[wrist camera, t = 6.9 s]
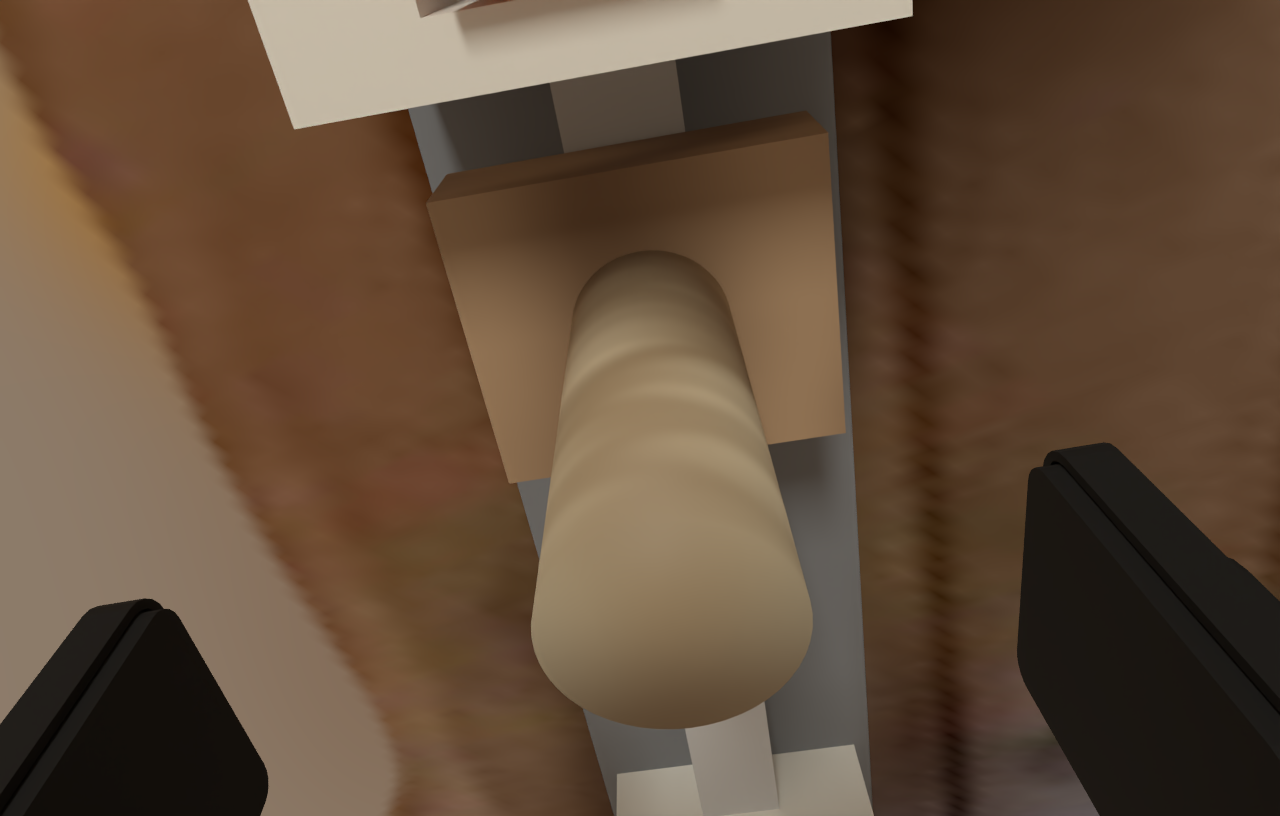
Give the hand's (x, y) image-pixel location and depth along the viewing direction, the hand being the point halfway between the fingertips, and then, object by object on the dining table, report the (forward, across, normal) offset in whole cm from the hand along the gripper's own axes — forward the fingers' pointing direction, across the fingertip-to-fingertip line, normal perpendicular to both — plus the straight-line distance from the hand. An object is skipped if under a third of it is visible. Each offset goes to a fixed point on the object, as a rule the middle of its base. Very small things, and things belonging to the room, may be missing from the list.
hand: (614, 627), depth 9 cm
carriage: (+10, -1, 0) cm, 10 cm away
